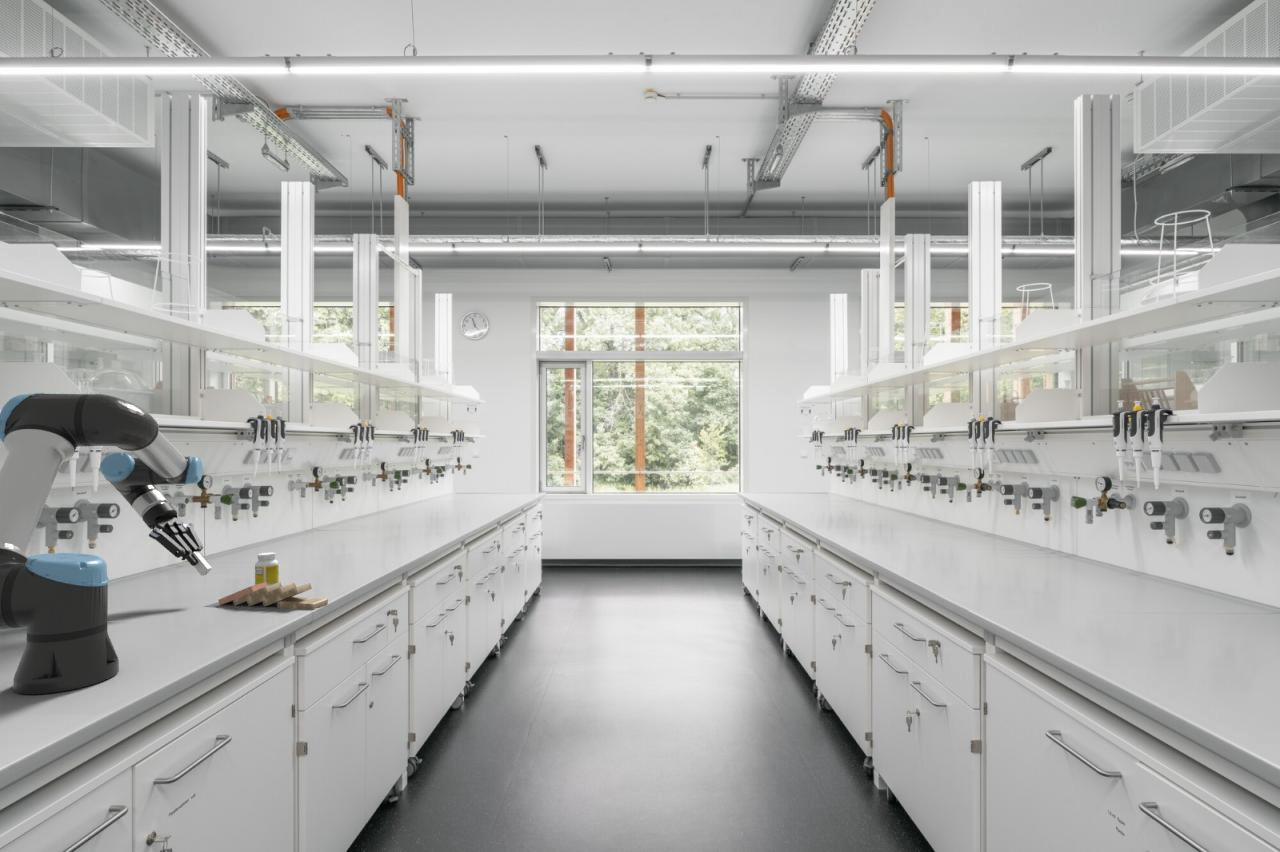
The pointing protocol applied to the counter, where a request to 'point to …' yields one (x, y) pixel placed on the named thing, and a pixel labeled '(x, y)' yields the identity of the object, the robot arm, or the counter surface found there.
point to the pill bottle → (267, 569)
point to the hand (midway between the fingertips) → (206, 571)
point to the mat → (244, 606)
